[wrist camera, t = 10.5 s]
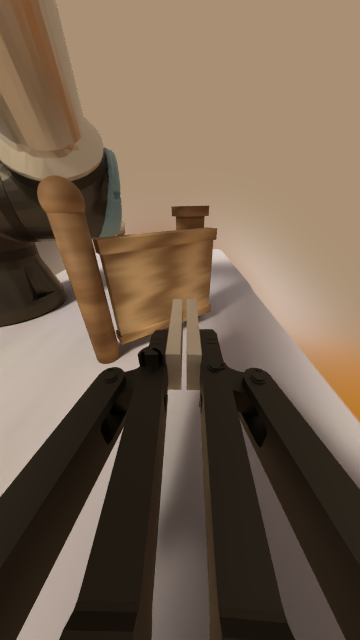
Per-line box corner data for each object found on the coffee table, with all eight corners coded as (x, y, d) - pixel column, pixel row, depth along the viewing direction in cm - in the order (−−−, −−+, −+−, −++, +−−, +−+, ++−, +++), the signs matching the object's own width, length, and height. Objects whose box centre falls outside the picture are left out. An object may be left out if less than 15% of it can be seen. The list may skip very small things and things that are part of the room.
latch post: (175, 313, 30) (171, 206, 22) (191, 308, 32) (192, 206, 24) (186, 322, 28) (186, 206, 20) (203, 316, 29) (209, 205, 21)
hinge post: (94, 352, 22) (32, 177, 13) (118, 344, 24) (77, 179, 15) (97, 368, 20) (25, 171, 11) (124, 359, 21) (79, 173, 12)
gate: (122, 344, 21) (97, 240, 15) (117, 337, 22) (92, 238, 17) (210, 311, 28) (217, 228, 22) (202, 306, 29) (206, 227, 23)
